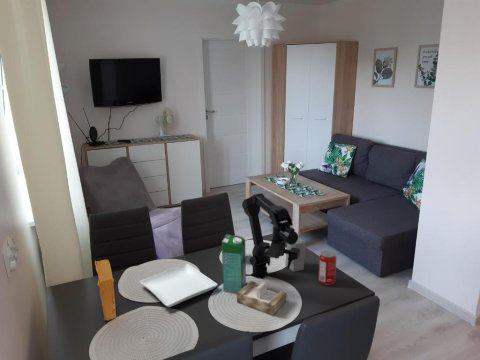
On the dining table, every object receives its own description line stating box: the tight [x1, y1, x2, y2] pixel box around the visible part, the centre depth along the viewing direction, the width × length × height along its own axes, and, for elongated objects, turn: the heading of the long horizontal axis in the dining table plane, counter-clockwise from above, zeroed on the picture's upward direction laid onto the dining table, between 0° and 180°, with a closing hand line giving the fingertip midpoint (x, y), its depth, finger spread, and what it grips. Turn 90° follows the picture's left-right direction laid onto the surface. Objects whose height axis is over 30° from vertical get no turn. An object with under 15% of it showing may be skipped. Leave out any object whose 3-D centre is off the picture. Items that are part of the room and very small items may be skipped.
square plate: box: [139, 263, 218, 308], centre depth 178 cm, size 27×27×4 cm
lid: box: [244, 281, 279, 303], centre depth 165 cm, size 15×10×6 cm, turn 56°
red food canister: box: [318, 250, 337, 286], centre depth 179 cm, size 8×8×15 cm
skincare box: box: [284, 236, 307, 273], centre depth 193 cm, size 8×7×16 cm
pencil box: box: [236, 280, 287, 317], centre depth 165 cm, size 18×12×5 cm, turn 56°
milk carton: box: [221, 233, 247, 293], centre depth 175 cm, size 9×9×25 cm
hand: (278, 267), depth 171 cm, fingers open, 9 cm apart
